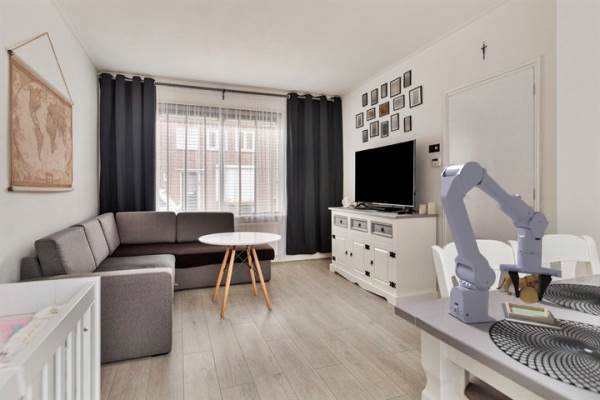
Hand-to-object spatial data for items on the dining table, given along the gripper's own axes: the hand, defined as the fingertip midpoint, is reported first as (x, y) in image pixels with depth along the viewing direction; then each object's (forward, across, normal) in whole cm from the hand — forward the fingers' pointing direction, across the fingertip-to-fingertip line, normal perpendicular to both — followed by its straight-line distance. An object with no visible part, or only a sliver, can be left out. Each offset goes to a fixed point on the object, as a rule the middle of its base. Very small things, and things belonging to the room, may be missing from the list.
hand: (528, 298), depth 92 cm
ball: (-1, 0, 0) cm, 1 cm away
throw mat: (+5, 0, +1) cm, 5 cm away
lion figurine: (+5, -1, -19) cm, 20 cm away
